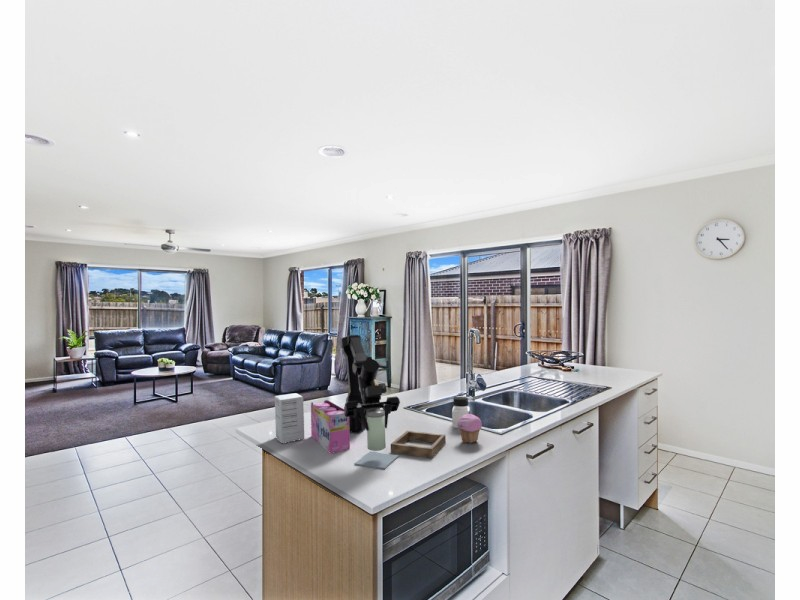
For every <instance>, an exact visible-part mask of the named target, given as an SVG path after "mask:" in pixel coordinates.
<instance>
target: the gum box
mask: <svg viewBox="0 0 800 600" xmlns="http://www.w3.org/2000/svg"><path fill="white" fill-rule="evenodd" d="M310 432H311V433H310V434H311V435H312V436H313V437H314V438H315V439H316V440H317V441H318V442H319V443H320V446H321V445H322V446H321V447H323V448H324V450H326V451H327V450H328V451H329V452H330V453H329V452H328V451H327V452H328V453H329V454H333V452H335V453H339V451H340V452H344V451H348V450H351V440H350V439H351V437H350V435H351V432H350V427H349V417H345V413H344V407H343V408H342V407H340V406H339V405H337V404H335V403H334V402H333V401H330V400H328V399H327V400H324V401H323V402H316V403H315V402H310ZM312 436H311V437H312ZM313 437H312V438H313ZM314 438H313V439H314ZM315 439H314V440H315ZM316 440H315V441H316ZM317 441H316V442H317ZM318 442H317V443H318ZM319 443H318V444H319Z"/></svg>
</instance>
